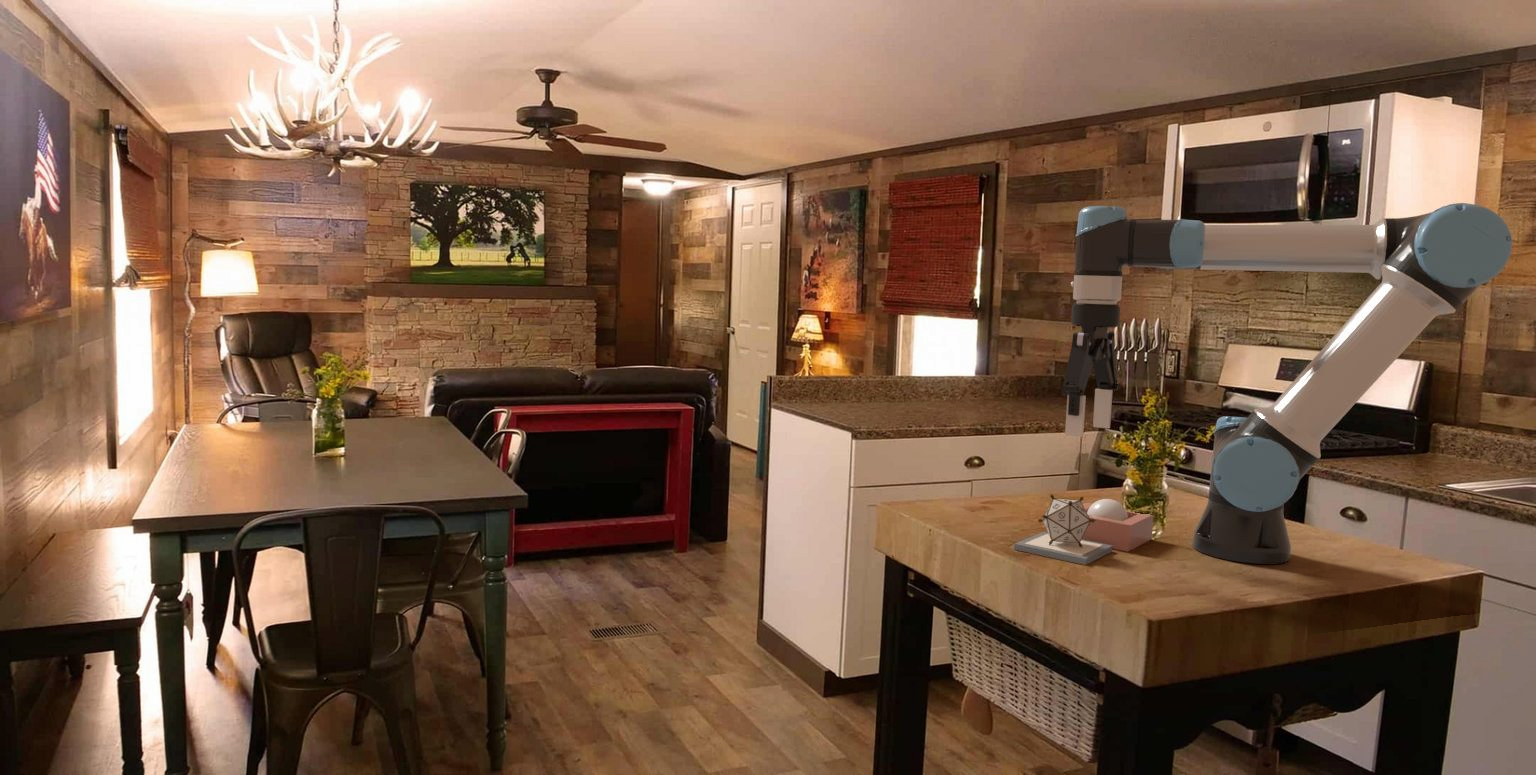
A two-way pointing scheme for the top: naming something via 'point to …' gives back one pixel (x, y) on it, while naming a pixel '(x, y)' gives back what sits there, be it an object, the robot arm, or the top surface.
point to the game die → (1066, 520)
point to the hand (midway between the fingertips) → (1088, 431)
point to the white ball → (1108, 510)
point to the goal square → (1063, 549)
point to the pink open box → (1120, 530)
